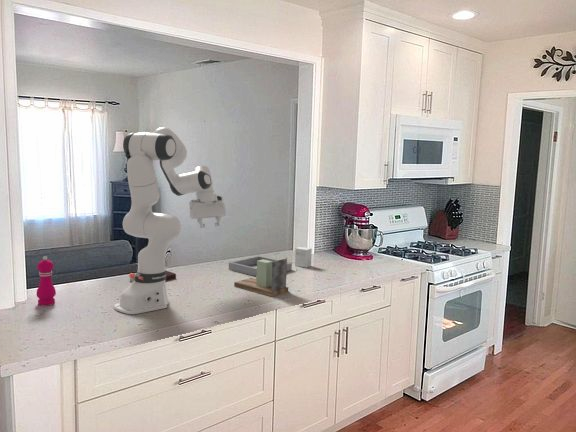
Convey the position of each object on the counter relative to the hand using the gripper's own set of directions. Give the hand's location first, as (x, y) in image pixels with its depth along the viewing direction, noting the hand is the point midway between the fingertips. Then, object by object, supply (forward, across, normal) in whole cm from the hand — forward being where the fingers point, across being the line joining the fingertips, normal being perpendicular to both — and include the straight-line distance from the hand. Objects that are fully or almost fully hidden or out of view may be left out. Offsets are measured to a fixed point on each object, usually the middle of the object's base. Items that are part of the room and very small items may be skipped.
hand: (210, 226), depth 244 cm
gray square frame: (+26, +38, +8) cm, 47 cm away
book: (+22, -17, +29) cm, 40 cm away
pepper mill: (+23, -71, +27) cm, 79 cm away
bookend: (+34, +11, -17) cm, 39 cm away
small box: (+29, +64, -1) cm, 70 cm away
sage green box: (+32, +11, -19) cm, 39 cm away
